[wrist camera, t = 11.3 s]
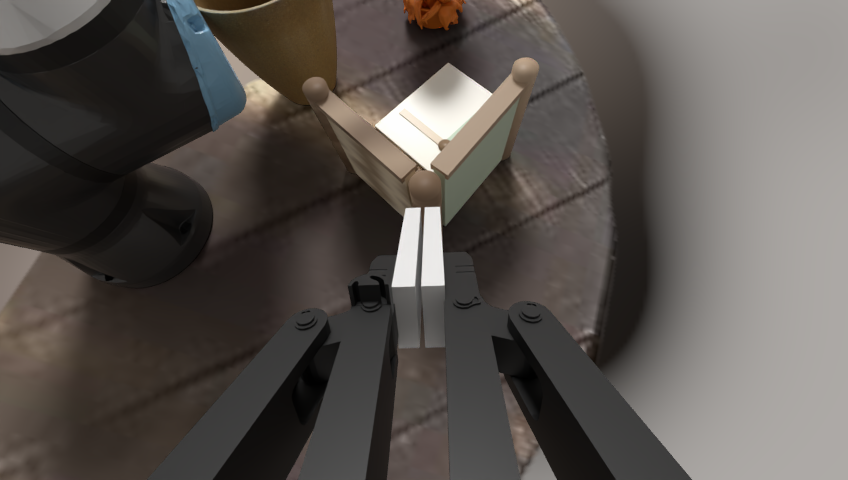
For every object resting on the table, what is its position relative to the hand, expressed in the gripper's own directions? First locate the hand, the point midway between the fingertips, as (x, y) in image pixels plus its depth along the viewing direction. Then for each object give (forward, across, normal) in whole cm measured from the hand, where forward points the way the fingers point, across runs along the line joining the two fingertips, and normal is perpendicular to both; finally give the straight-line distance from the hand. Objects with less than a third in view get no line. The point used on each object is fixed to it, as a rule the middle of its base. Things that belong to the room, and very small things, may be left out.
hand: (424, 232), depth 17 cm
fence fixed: (+23, -5, -7) cm, 24 cm away
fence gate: (+23, +5, -5) cm, 24 cm away
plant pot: (+36, -16, +6) cm, 40 cm away
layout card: (+31, +2, +1) cm, 31 cm away
